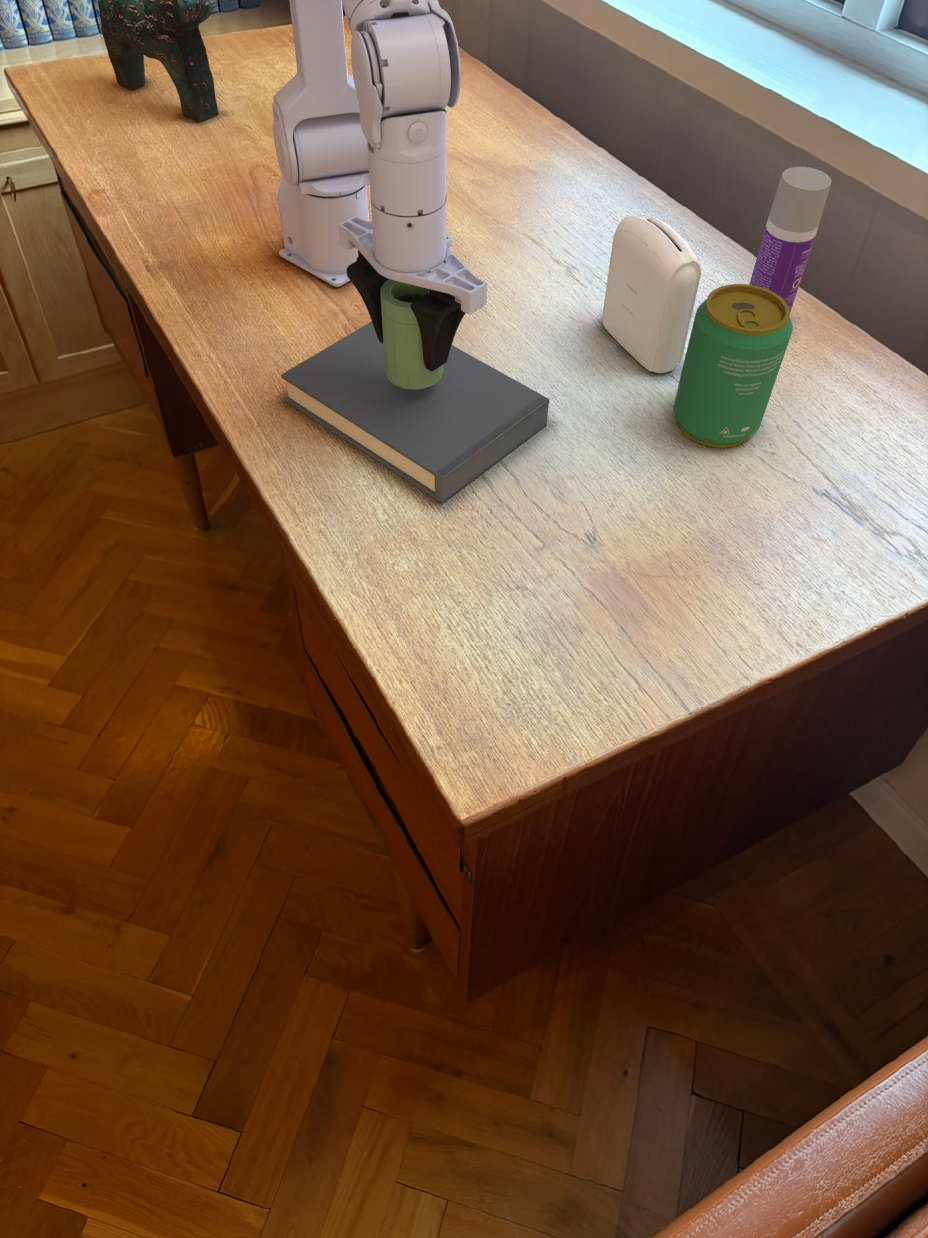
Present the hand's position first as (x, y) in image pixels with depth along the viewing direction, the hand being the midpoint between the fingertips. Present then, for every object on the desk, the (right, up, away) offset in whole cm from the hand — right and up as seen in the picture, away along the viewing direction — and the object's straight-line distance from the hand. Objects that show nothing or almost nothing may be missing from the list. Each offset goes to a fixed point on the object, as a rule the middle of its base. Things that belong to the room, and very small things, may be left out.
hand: (413, 351), depth 81 cm
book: (0, -4, +5) cm, 7 cm away
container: (+35, +7, +15) cm, 39 cm away
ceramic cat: (-36, +47, +45) cm, 74 cm away
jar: (0, -1, +2) cm, 2 cm away
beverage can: (+28, -5, +5) cm, 29 cm away
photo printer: (+22, +4, +13) cm, 26 cm away
